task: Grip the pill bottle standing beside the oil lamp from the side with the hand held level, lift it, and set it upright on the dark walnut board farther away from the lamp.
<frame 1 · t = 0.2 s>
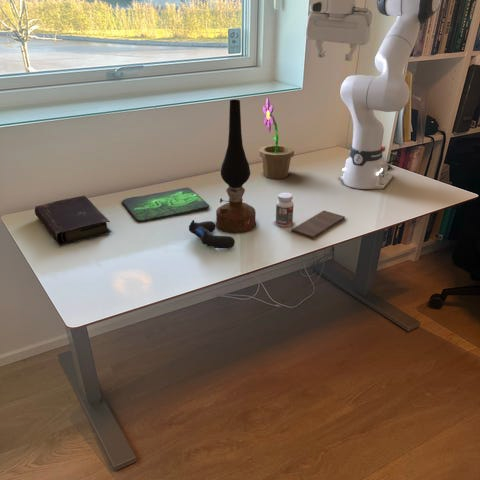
hand: (334, 58, 155), 48 cm above the table, tool pointing down, fingers open, 8 cm apart
flowerpot: (275, 174, 211), on the table
gaming controller: (210, 242, 160), on the table
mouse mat: (165, 205, 184), on the table
pill bottle: (283, 224, 171), on the table
diary: (74, 226, 170), on the table
oil lamp: (235, 225, 170), on the table
walnut board: (318, 225, 169), on the table
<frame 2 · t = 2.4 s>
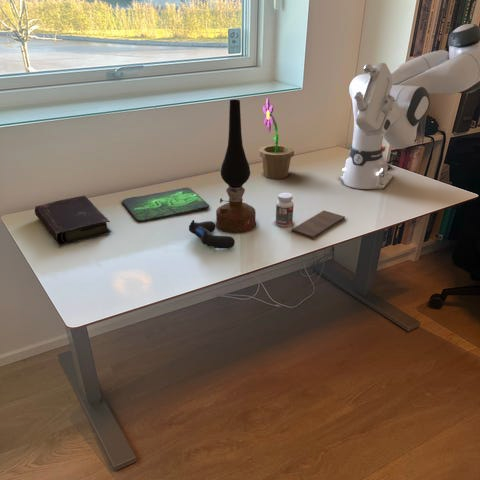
hand: (361, 79, 144), 45 cm above the table, tool pointing upward, fingers open, 8 cm apart
nothing on the table moved.
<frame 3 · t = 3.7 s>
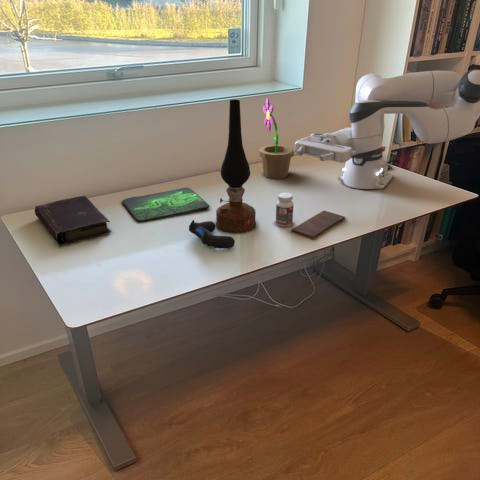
hand: (309, 155, 167), 20 cm above the table, tool horizontal, fingers open, 8 cm apart
nothing on the table moved.
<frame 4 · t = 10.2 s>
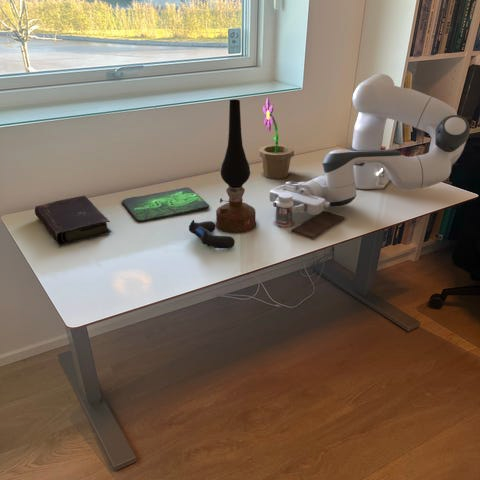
hand: (283, 207, 167), 6 cm above the table, tool horizontal, fingers closed on pill bottle, 6 cm apart
pill bottle: (283, 224, 171), on the table, touching gripper
everything else where it was.
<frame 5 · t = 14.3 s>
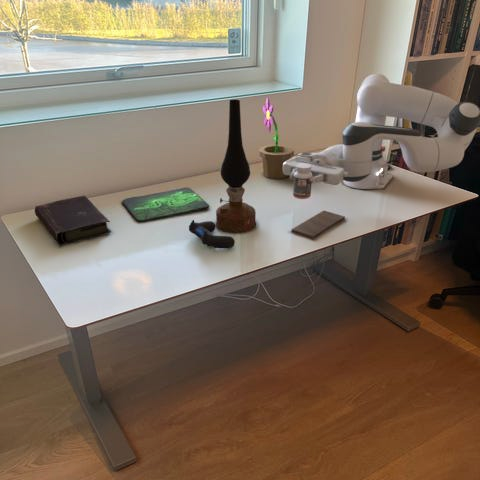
hand: (301, 178, 158), 17 cm above the table, tool horizontal, fingers closed on pill bottle, 6 cm apart
pill bottle: (301, 196, 162), point 11 cm above the table, touching gripper
everything else where it was.
when the fingers open (7 cm above the table, at t = 18.7 s): pill bottle stays where it is, resting on walnut board.
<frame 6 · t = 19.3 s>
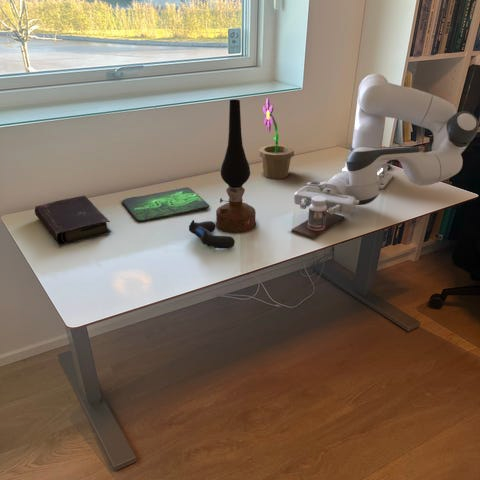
hand: (316, 209, 161), 8 cm above the table, tool horizontal, fingers open, 8 cm apart
pill bottle: (316, 228, 166), point 1 cm above the table, touching walnut board
everything else where it was.
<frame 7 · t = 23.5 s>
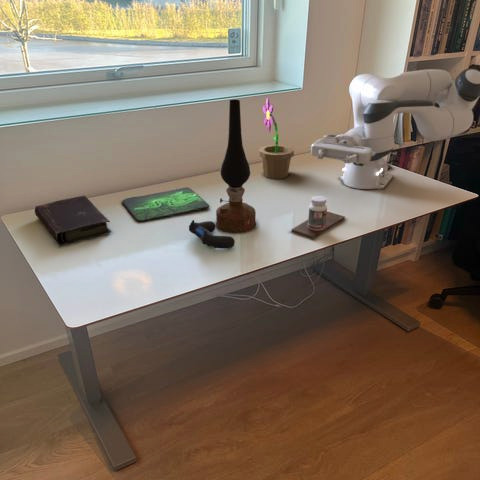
hand: (333, 158, 164), 20 cm above the table, tool horizontal, fingers open, 8 cm apart
nothing on the table moved.
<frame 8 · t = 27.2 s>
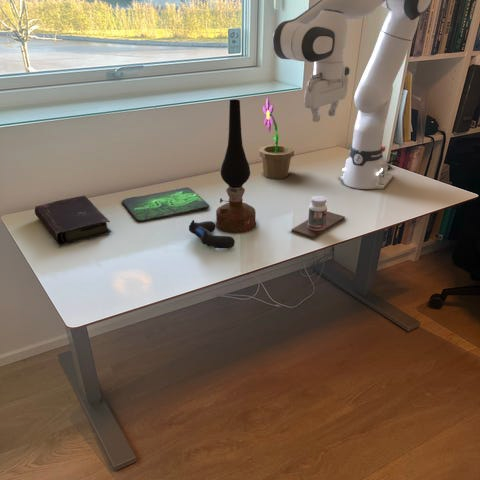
hand: (323, 118, 163), 31 cm above the table, tool pointing down, fingers open, 8 cm apart
nothing on the table moved.
at the end: pill bottle inside the target area on the walnut board (4.0 cm from its centre), point 0.8 cm above the walnut board's base; pill bottle tilted 0°; oil lamp moved 0.2 cm from its start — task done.
